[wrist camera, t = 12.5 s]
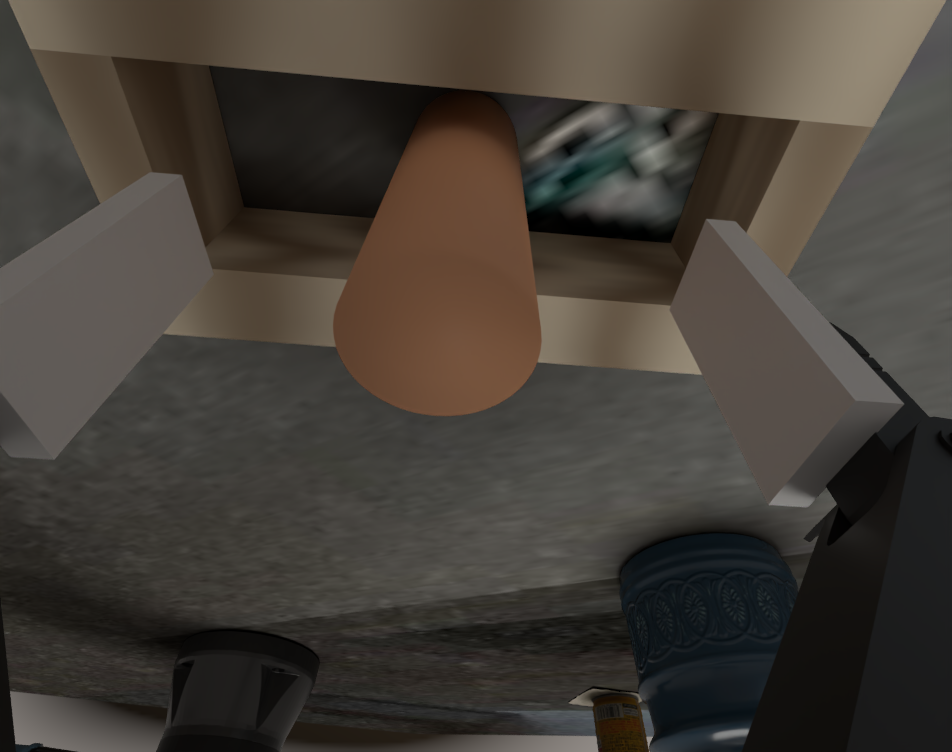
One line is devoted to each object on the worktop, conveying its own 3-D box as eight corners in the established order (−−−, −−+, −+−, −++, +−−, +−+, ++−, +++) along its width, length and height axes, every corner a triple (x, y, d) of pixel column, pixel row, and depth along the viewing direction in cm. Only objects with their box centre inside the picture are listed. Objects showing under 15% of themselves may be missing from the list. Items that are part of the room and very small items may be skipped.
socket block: (215, 267, 22) (159, 333, 18) (98, -103, 14) (-47, -121, 10) (690, 305, 23) (729, 377, 19) (837, -26, 15) (955, -18, 11)
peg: (412, 198, 20) (345, 409, 11) (411, 85, 17) (318, 240, 8) (510, 205, 20) (525, 421, 11) (524, 95, 17) (559, 259, 8)
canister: (593, 596, 43) (638, 880, 30) (655, 518, 35) (754, 869, 21) (728, 610, 44) (827, 889, 31) (819, 539, 36) (1008, 882, 23)
